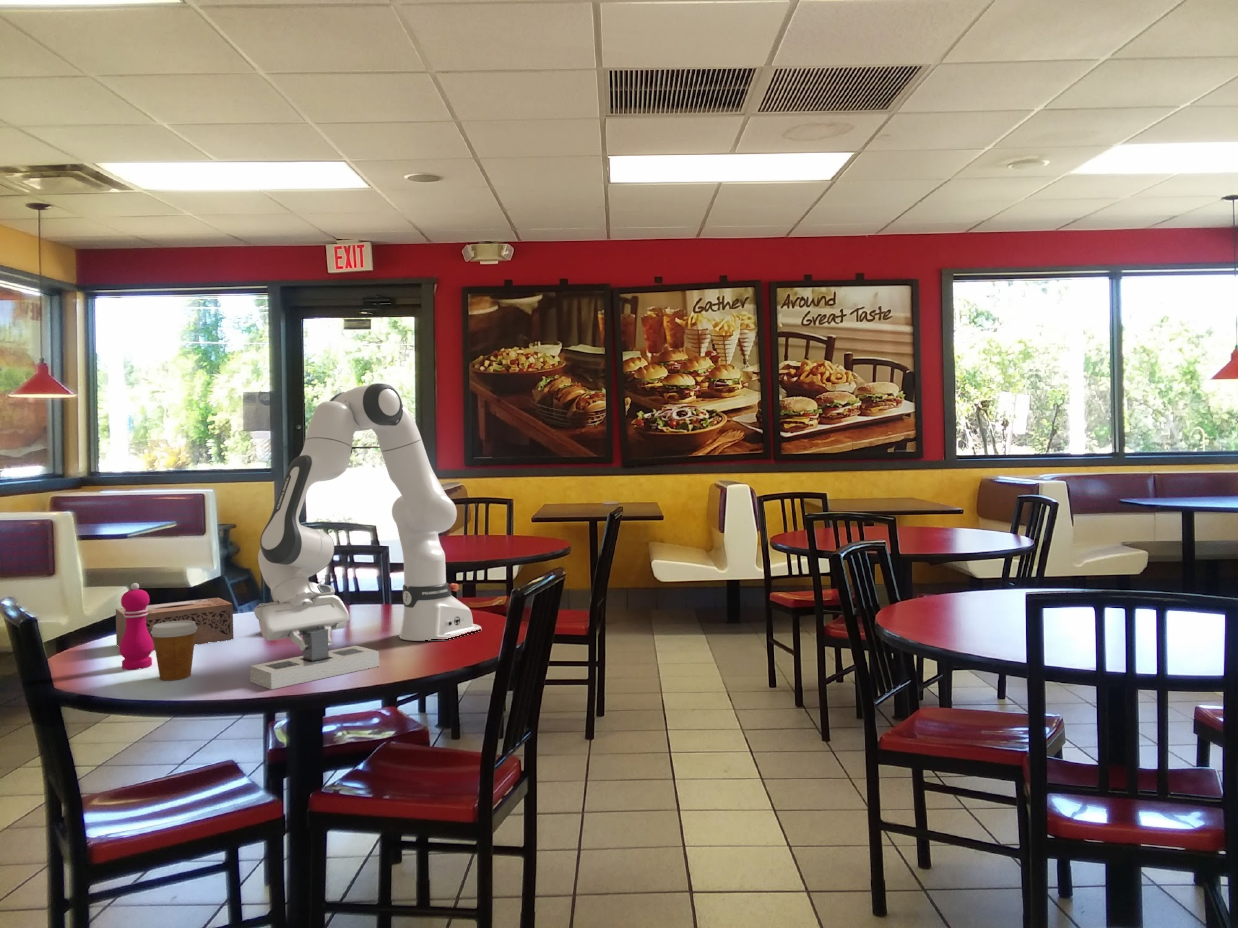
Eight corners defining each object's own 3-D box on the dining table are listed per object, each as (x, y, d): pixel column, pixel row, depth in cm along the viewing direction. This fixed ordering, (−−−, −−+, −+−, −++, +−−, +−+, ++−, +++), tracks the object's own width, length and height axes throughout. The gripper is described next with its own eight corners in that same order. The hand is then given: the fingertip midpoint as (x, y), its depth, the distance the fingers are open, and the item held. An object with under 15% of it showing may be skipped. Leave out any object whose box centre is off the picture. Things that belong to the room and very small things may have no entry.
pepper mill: (139, 670, 208) (136, 585, 208) (112, 669, 209) (110, 585, 209) (161, 663, 215) (158, 580, 215) (135, 662, 216) (132, 580, 216)
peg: (319, 662, 204) (319, 627, 204) (328, 665, 202) (328, 630, 202) (303, 665, 202) (302, 630, 201) (312, 668, 199) (311, 632, 199)
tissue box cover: (219, 632, 253) (218, 597, 253) (233, 640, 242) (232, 603, 242) (116, 646, 237) (115, 608, 237) (126, 655, 226) (125, 616, 226)
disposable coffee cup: (166, 671, 206) (164, 620, 206) (206, 671, 206) (205, 619, 206) (142, 682, 197) (141, 628, 197) (185, 682, 196) (183, 628, 196)
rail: (356, 659, 215) (356, 645, 215) (379, 666, 208) (378, 651, 208) (250, 681, 196) (250, 665, 196) (271, 689, 189) (271, 672, 189)
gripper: (255, 596, 199) (277, 645, 192) (339, 585, 214) (361, 630, 207) (247, 614, 202) (268, 663, 195) (330, 601, 217) (352, 647, 210)
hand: (317, 646), depth 201 cm, fingers closed on peg, 4 cm apart
